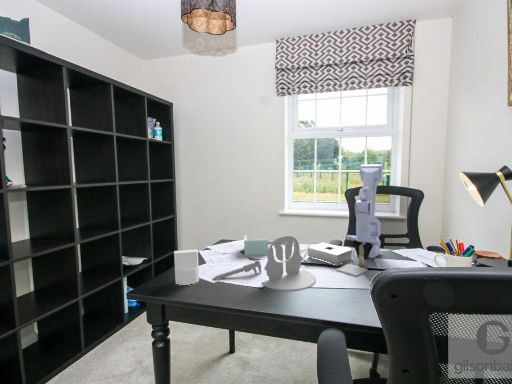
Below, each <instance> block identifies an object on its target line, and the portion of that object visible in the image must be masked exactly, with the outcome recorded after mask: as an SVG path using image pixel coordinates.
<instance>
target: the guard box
mask: <svg viewBox="0 0 512 384" xmlns="http://www.w3.org/2000/svg"><path fill="white" fill-rule="evenodd" d="M328 249H330V250H328ZM352 252H353V249H352V248H348V247H345V246H339V245H335V244H331V243H327V242H320V243H318V244H315V245H312V246H309V247H307V257H308V256H310V257H313V258H317V259H321V260H324V261H327V262H330V263H332V264H335V265H334V266H335V267H338V265H339V264H341V263H343V264H345V263H344V262H346V261H348V262H350V261H352V259H353V256H352V255H353V253H352ZM349 260H350V261H349ZM346 263H347V262H346ZM341 265H342V264H341ZM339 266H340V265H339Z"/></svg>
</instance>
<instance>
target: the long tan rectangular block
mask: <svg viewBox="0 0 512 384" xmlns="http://www.w3.org/2000/svg"><path fill="white" fill-rule="evenodd" d="M367 263H368V259H367V260H364V249H363V244H361V245H359V258H358V266H359V267H366V266H367Z"/></svg>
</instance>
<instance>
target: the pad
mask: <svg viewBox="0 0 512 384" xmlns="http://www.w3.org/2000/svg"><path fill="white" fill-rule="evenodd" d="M367 271H368V268H364V267H362V266H359V265H358V266H357V265H355V264H354V265H353V264H351V263H347V264H343V266H342V265H341V266H340V267H338V268H336V272H340V273H344V274H347V275H349V276H353V277H358V276H360V275H362V274H364V273H366V272H367Z"/></svg>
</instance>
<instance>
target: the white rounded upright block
mask: <svg viewBox="0 0 512 384" xmlns="http://www.w3.org/2000/svg"><path fill="white" fill-rule="evenodd" d="M173 256H174V258H173V259H174V274H175V275H174V277H175V278H174V279H175V280H174V281H175V285H177V284H179V285H178V286H180V285H189V286H191V285H190V284H193V285H195V284H197V283H199V281H200V273H199V272H200V270H199V268H200V267H199V250H198V249H186V250H185V249H184V250H182V249H181V250H174V252H173ZM196 282H197V283H196ZM194 283H195V284H194Z"/></svg>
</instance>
